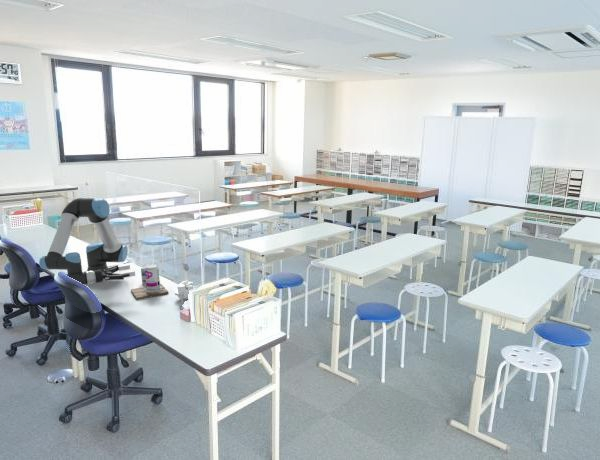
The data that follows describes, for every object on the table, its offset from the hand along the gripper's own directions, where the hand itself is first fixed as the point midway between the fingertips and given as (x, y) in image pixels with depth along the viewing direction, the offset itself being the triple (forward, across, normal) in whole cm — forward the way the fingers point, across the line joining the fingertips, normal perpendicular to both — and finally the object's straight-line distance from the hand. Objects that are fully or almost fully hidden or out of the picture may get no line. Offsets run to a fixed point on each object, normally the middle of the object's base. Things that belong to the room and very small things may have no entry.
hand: (132, 270), depth 271 cm
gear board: (+9, 0, -16) cm, 19 cm away
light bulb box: (+14, -20, -17) cm, 30 cm away
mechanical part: (+24, +23, -16) cm, 37 cm away
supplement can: (+11, 0, -15) cm, 19 cm away
